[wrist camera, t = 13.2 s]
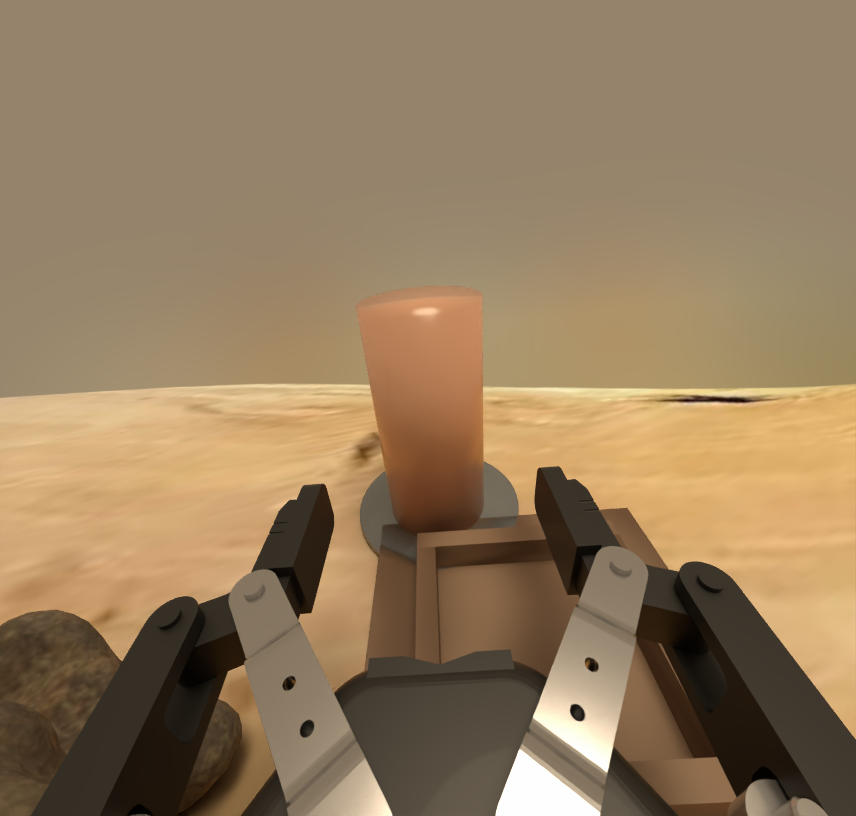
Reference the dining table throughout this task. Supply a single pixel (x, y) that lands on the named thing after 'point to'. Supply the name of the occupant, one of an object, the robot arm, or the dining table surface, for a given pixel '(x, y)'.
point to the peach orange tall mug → (428, 402)
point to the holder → (541, 638)
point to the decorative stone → (71, 707)
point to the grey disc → (379, 512)
